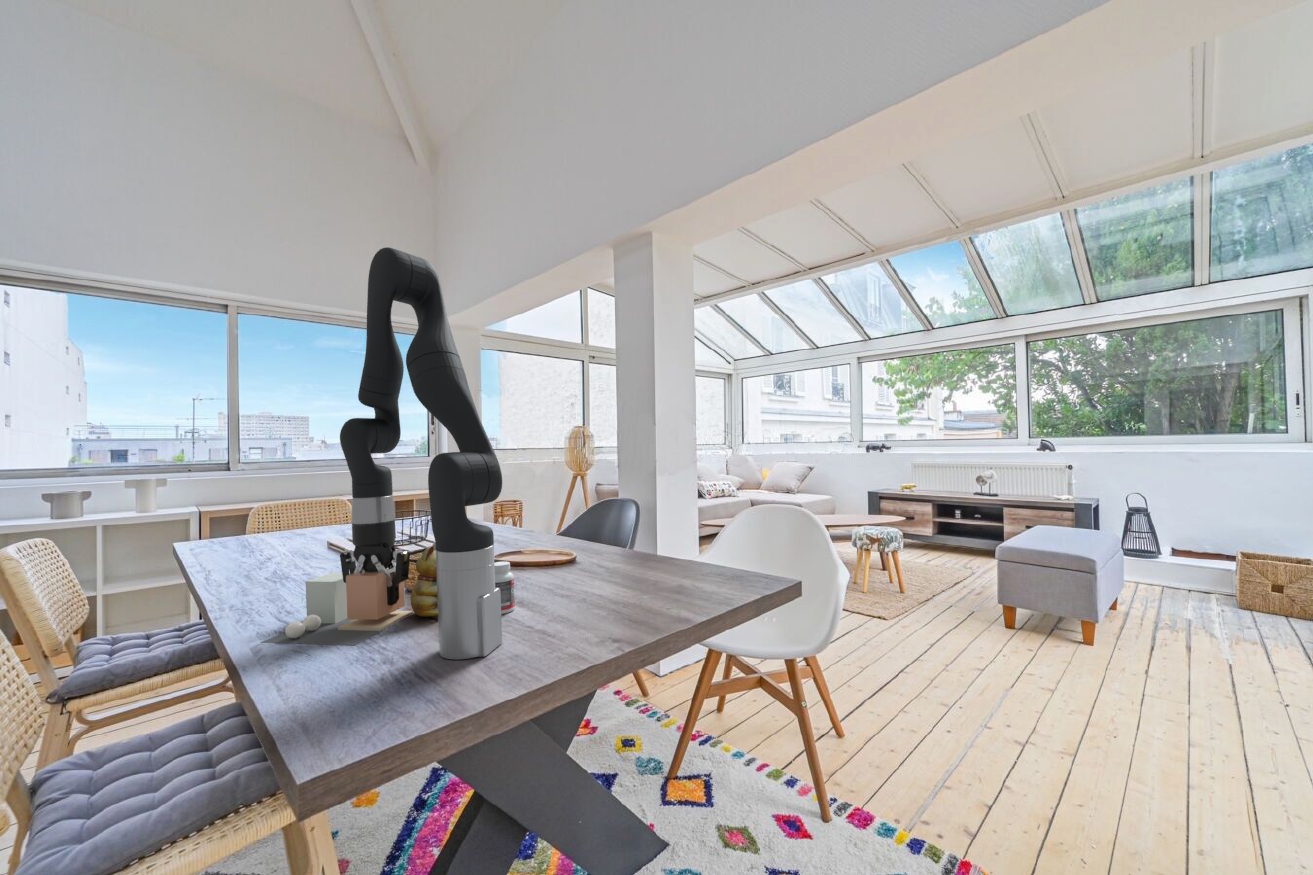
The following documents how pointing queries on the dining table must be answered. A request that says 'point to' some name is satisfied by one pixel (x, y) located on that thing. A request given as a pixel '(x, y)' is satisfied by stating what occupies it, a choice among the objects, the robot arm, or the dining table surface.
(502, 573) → the pill bottle
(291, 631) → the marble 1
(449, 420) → the robot arm
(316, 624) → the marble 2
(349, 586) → the clay brown brick
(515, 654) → the dining table surface
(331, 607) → the pale green cube
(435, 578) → the decorative figurine
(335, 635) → the mat
